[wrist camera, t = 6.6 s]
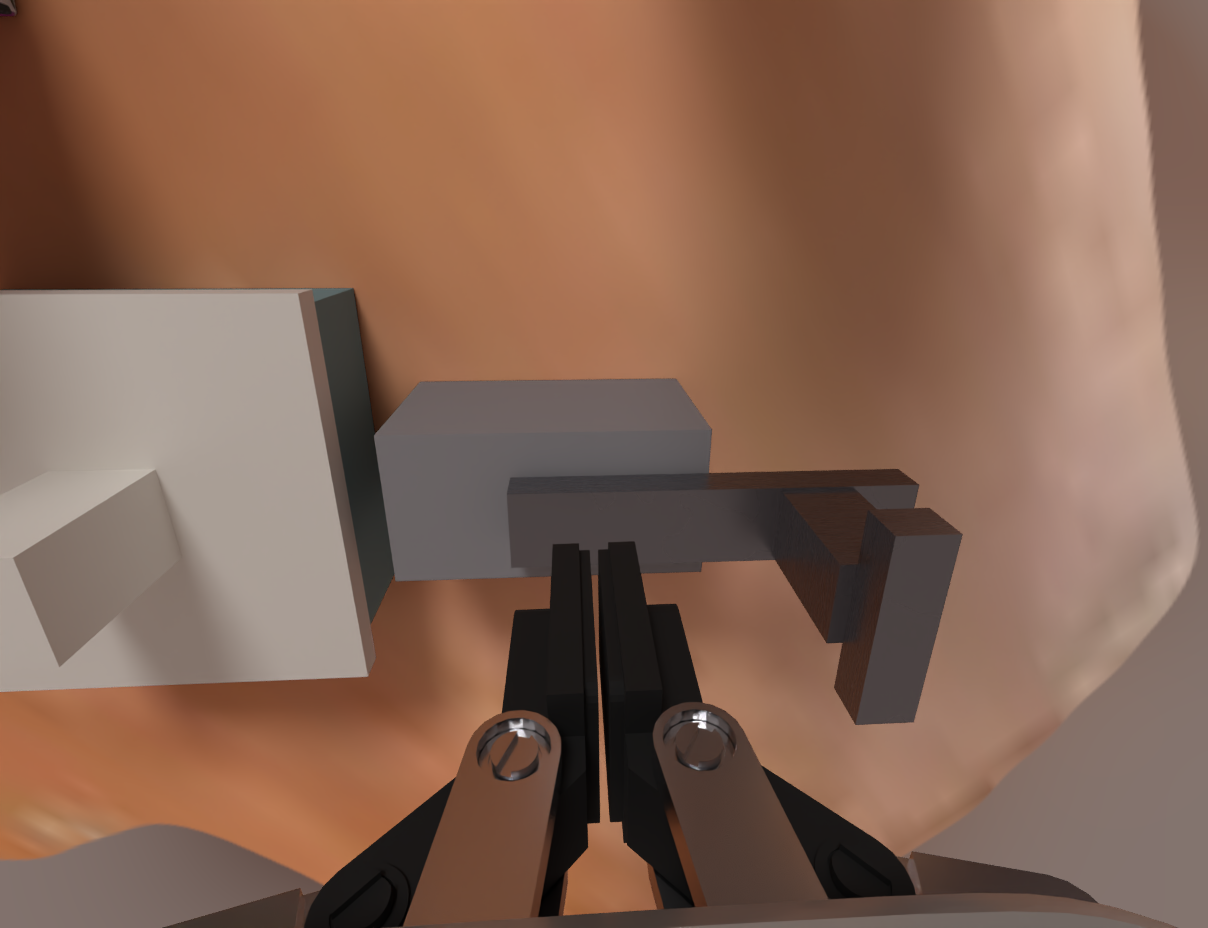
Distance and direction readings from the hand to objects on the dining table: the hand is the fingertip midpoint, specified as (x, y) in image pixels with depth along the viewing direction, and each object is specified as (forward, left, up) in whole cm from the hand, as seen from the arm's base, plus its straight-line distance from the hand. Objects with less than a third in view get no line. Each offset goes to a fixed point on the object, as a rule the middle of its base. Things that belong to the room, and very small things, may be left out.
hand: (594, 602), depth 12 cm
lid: (+1, -14, -8) cm, 16 cm away
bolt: (+1, +4, -6) cm, 7 cm away
